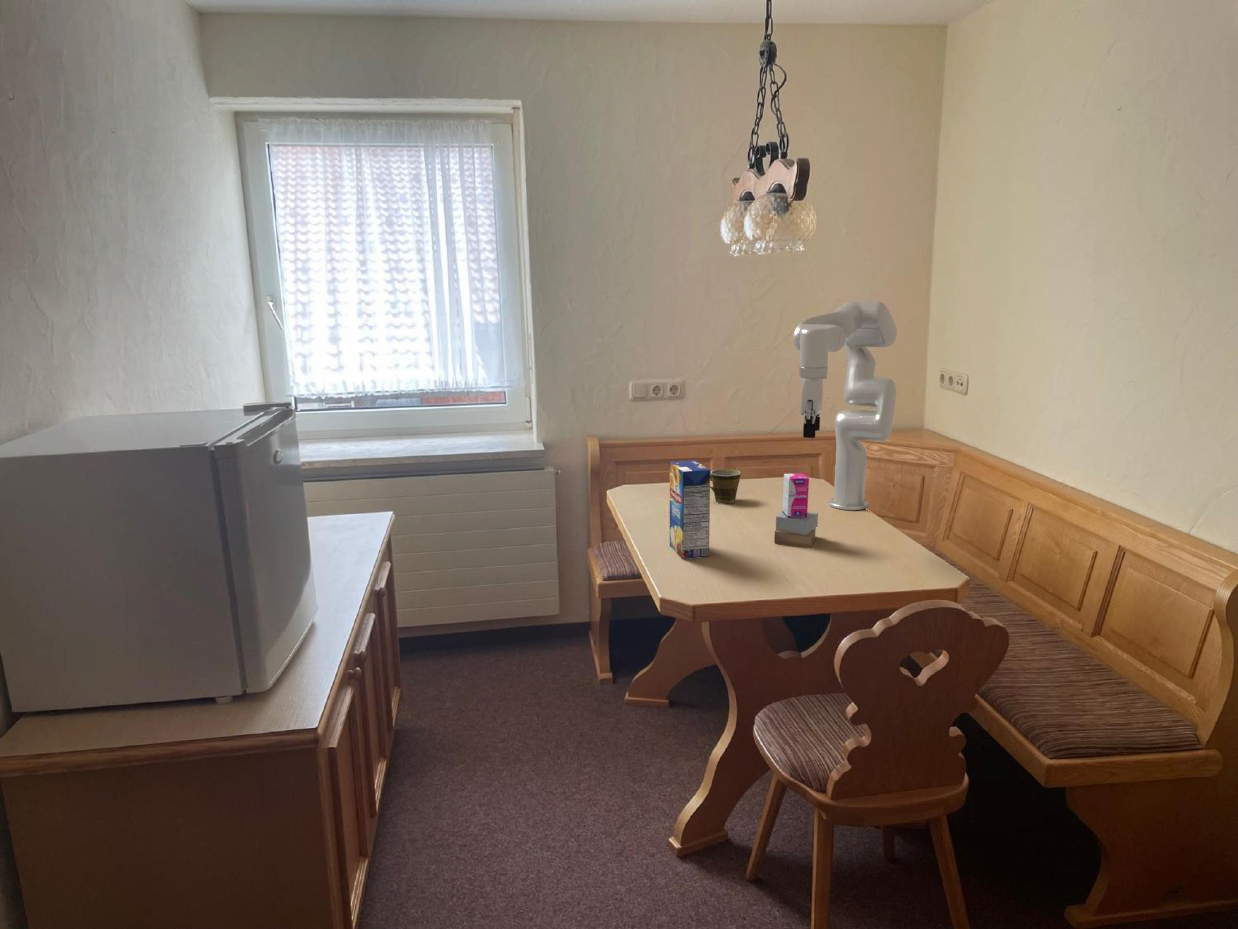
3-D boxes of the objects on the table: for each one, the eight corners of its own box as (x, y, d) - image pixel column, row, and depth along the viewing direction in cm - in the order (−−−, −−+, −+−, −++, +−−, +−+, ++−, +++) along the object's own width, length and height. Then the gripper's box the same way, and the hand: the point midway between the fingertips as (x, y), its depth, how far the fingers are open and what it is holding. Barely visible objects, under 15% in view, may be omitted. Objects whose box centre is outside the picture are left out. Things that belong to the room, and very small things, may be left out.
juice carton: (669, 545, 223) (669, 462, 218) (694, 543, 225) (695, 460, 220) (682, 559, 212) (683, 471, 207) (709, 557, 214) (710, 469, 208)
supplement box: (787, 518, 221) (788, 478, 219) (782, 512, 227) (783, 473, 225) (807, 517, 222) (809, 477, 219) (802, 511, 227) (803, 472, 225)
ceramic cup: (739, 497, 272) (740, 469, 270) (740, 505, 262) (741, 476, 260) (701, 497, 274) (701, 468, 271) (701, 504, 264) (701, 475, 262)
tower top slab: (787, 521, 232) (787, 508, 231) (817, 526, 227) (818, 513, 226) (775, 530, 224) (776, 516, 223) (806, 535, 220) (807, 521, 219)
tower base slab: (780, 534, 233) (780, 521, 232) (815, 538, 229) (815, 524, 229) (774, 545, 224) (774, 531, 223) (810, 548, 220) (811, 535, 219)
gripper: (803, 368, 228) (802, 427, 232) (794, 377, 212) (793, 440, 216) (830, 369, 225) (828, 428, 229) (823, 377, 210) (821, 441, 214)
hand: (811, 433), depth 223 cm, fingers open, 9 cm apart
